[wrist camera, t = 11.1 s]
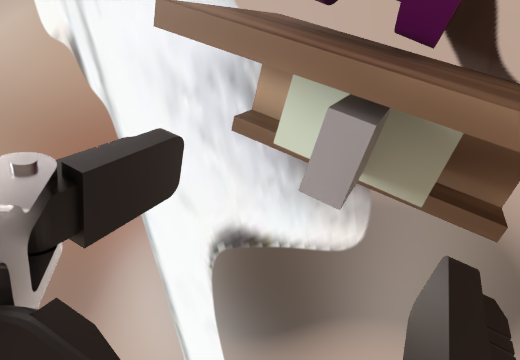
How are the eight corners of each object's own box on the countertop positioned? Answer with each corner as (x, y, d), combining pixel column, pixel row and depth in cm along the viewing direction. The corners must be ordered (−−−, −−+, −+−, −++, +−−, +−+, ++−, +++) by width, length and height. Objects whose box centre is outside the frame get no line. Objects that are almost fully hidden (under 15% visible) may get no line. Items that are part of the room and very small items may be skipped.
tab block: (336, 53, 26) (255, 67, 15) (463, 96, 23) (479, 149, 12) (314, 117, 28) (231, 169, 17) (428, 162, 25) (414, 256, 15)
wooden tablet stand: (279, 13, 27) (155, -3, 16) (569, 98, 21) (714, 172, 10) (254, 120, 32) (142, 169, 20) (490, 215, 26) (526, 365, 14)
